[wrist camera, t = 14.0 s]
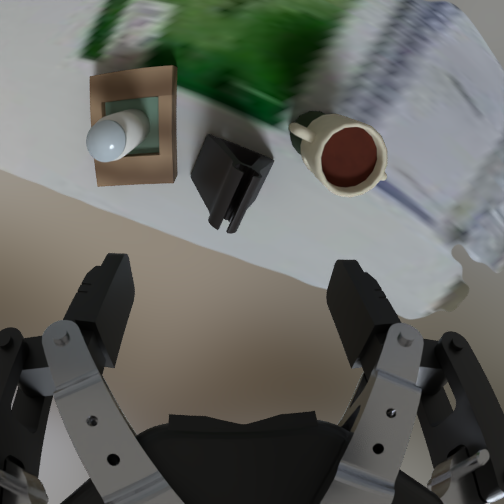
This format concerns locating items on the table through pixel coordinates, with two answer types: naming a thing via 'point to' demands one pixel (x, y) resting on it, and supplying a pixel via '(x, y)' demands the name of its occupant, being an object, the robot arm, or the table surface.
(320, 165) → the character mug
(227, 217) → the phone stand
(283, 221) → the table surface
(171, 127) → the wooden frame
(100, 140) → the white rounded cylinder
